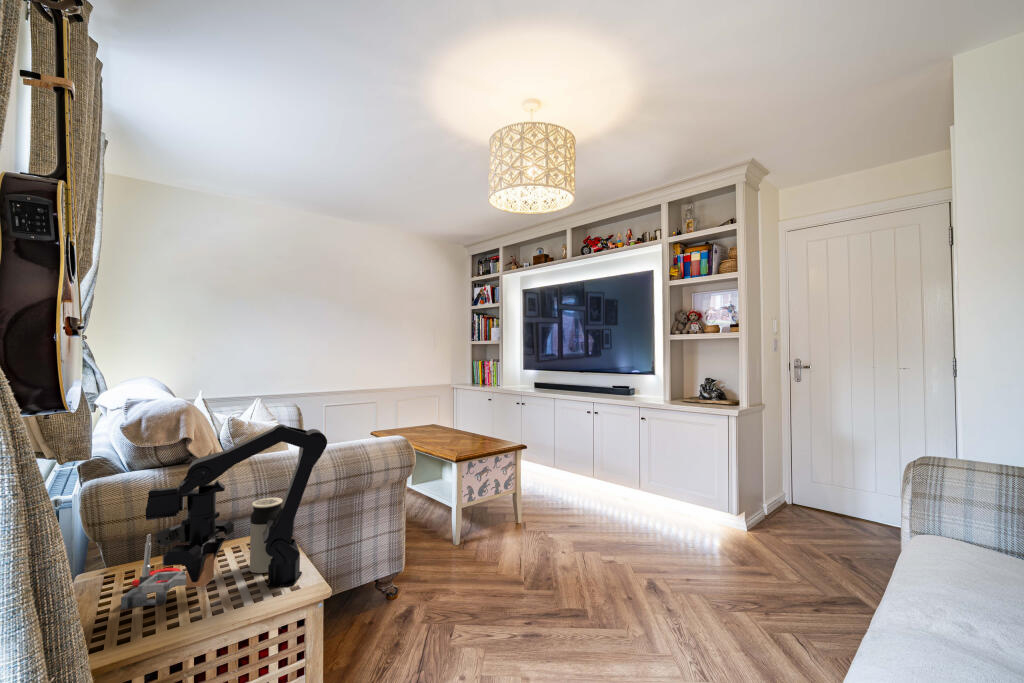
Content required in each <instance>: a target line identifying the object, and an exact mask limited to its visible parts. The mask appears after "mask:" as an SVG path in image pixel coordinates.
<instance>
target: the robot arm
mask: <svg viewBox="0 0 1024 683" xmlns="http://www.w3.org/2000/svg"><path fill="white" fill-rule="evenodd" d="M327 439H328V438H327V437H326V435H325V434H323V432H322V431H320V430H319V429H316V428H312V429H311V428H310V429H307V430H306V429H302V428H298V427H292V426H288V425H286V424H277V425H275V426H274V427H273V428H270V429H269V430H266V431H264V432H262V433H261V434H258V435H256V436H254V437H252V438H250V439H248V440H246V441H243V442H241V443H239V444H237V445H235V446H233V447H231V448H228V449H225V450H223V451H219V452H213V453H210V454H207V455H204V456H201V457H198V458H196V459H195V460H193V461H192V462H191V463H190V465H189V467H188V470H187V471H186V475H185V477H184V478H183V479H182V480H180V483H179V485H178V486H172V487H171V486H170V487H163V488H161V487H160V488H158V487H157V488H151V489H149V490H148V493H147V494H148V497H147V501H146V507H145V520H146V521H147V522H148V521H153V520H160V519H161V520H162V519H165V518H166V519H167V518H173V517H178V515H179V514H180V512H183V511H184V508H185V498H186V517H185V518H184V519H182V520H181V522H180V523H179V524H176V525H174V526H171V527H166V528H164V529H161V530H158V531H157V532H156V536H155V537H156V538H155V543H156V544H157V545H158V546H159V547H160V546H162V548H166V547H167V546H169V545H171V544H174V543H176V542H178V541H179V544H178V545H177V544H176V545H175V546H173V547H172V548H171V549H169V550H168V551H166V552H165V553H164V554H163V555H162V566H167V567H168V566H183V565H184V567H185V569H187V571H188V574H189V576H190V578H191V581H192V582H198V580H199V577H200V574H201V571H202V569H203V566H204V563H205V560H206V557H207V554H208V553H214V561H215V559H216V558H217V555H218V554H219V551H220V550H221V549H222V546H223V545H224V542H225V541H226V537H220V536H221V535H219V534H220V533H224V535H225V536H229V535H230V534H232V533H233V532H234V525H235V524H234V523H233V522H232V521H231V520H216V519H218V518H220V511H216V510H217V509H216V508H217V493H220V492H224V491H225V490H226V485H225V484H223V483H221V482H220V481H219V479H218V478H219V477H221V476H222V475H224V474H225V473H226V472H227V471H228V470H230V469H231V468H232V467H234V466H235V465H237V464H240V463H241V462H243V461H245V460H247V459H249V458H251V457H253V456H255V455H258V454H260V453H262V452H263V451H265V450H267V449H269V448H272V447H274V446H275V445H278V444H279V443H282V442H283V443H285V444H289V445H293V446H295V447H298V456H297V457H298V458H297V462H296V465H295V468H294V471H293V474H292V476H291V479H290V482H289V485H288V487H287V490H286V493H285V496H284V498H283V499H282V500H283V501H282V503H281V508H280V511H279V514H278V515H277V517H276V518H275V519H274V521H273V520H270V519H268V522H267V527H266V529H265V531H264V532H263V534H262V535H263V541H264V544H265V551H266V553H267V554H268V555H269V556H271V557H272V558H271V560H270V564H269V565H268V572H267V573H268V574H267V581H268V582H267V584H266V586H267V588H268V587H270V588H272V587H273V588H274V587H288V586H289V587H292V586H294V585H295V584H296V583H297V581H298V580H299V578H301V576H302V574H303V572H302V571H301V569H300V567H301V566H300V565H301V552H300V550H299V546H298V543H297V540H296V539H294V538H293V533H294V523H295V522H294V521H295V518H296V515H297V513H298V509H299V507H300V504H301V503H302V502H301V501H302V498H303V496H304V493H305V490H306V489H307V486H308V483H309V479H310V477H311V474H312V471H313V469H314V466H315V465H316V464H317V463H318V461H319V459H320V458H321V457H322V455H323V453H324V452H325V450H326V448H327V446H328V440H327ZM216 479H217V480H216ZM213 481H214V482H213ZM212 482H213V483H212ZM185 543H188V544H185Z"/></svg>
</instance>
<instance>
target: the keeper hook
mask: <svg viewBox="0 0 1024 683" xmlns="http://www.w3.org/2000/svg"><path fill="white" fill-rule="evenodd" d="M160 583H166V582H160ZM167 594H168V591H166V592H155V598H148V593H138V587H133V588H131V589H130V590H129V591H128V592H126V593H125V594H124V595H122V596H121V597H120V610H129V609H130V608H134V607H135V608H136V607H138V608H139V607H145V606H147V607H149V606H162V605H164V604H166V603H167V599H168V598H167V596H168V595H167Z"/></svg>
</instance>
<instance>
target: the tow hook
mask: <svg viewBox="0 0 1024 683" xmlns="http://www.w3.org/2000/svg"><path fill="white" fill-rule="evenodd" d="M151 539H152V534H151V533H149V534H147V535H146V542H145V544H144V558H143V559H144V560H143V566H142V567H141V568H142V569H141V576H139V579H133V580H132V582H131V586H132V587H133V586H134V587H138V586H139V585H140V584H142V583H143V582H144V581H146V580H147V579H149V578H150V577H151V576H153V575H154V574H156V573H157V572H173V571H182V569H180V568H177V567H166V568H158V569H156V570H152V571H151V566H152V565H151V553H152V552H151V551H152V542H151ZM168 581H169V580H163V581H157V582H156V583H160V582H168Z"/></svg>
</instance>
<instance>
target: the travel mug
mask: <svg viewBox="0 0 1024 683" xmlns="http://www.w3.org/2000/svg"><path fill="white" fill-rule="evenodd" d="M283 500H284V499H282V498H280V497H266V498H261V499H257V500H256V501H253V502H252V503H251V506H252V509H253V511H252V513H251V515H250V528H249V529H250V534H249V538H250V541H249V571H250V572H251V573H255V574H265V573H266V574H267V573H268V565H269V564H270V560H271V558H272V557H271V556H269V555H268V554H267V553H266V551H265V544H264V541H263V535H262V534H263V532H264V531H265V529H266V527H267V522H268V519H270V520H273V521H274V519H275V518H276V517H277V515H278V514H279V511H280V508H281V506H282V503H283Z"/></svg>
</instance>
